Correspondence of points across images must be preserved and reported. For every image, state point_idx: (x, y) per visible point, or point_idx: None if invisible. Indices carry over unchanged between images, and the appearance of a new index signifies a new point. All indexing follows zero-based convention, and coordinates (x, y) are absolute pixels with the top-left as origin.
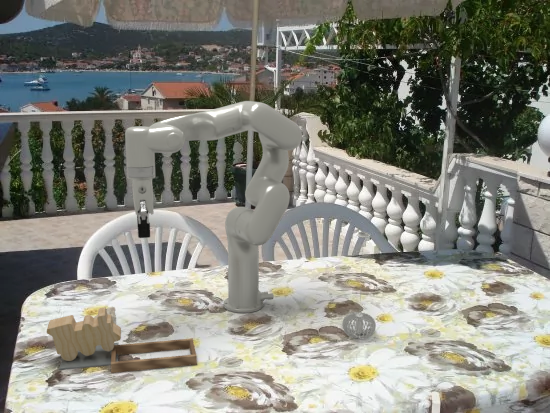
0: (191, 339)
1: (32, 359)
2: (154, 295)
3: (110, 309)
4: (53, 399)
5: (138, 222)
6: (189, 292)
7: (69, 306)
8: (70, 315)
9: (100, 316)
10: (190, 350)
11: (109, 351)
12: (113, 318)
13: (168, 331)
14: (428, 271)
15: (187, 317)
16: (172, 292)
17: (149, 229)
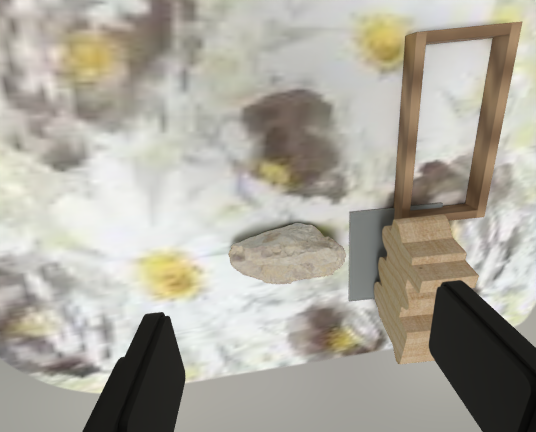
0: (423, 35)
1: (378, 334)
2: (54, 155)
3: (275, 257)
4: (523, 280)
5: (173, 421)
6: (8, 42)
7: None
8: (408, 338)
9: (475, 283)
10: (449, 41)
11: (388, 224)
12: (301, 242)
13: (303, 104)
14: None
15: (216, 50)
16: (19, 101)
17: (508, 327)
